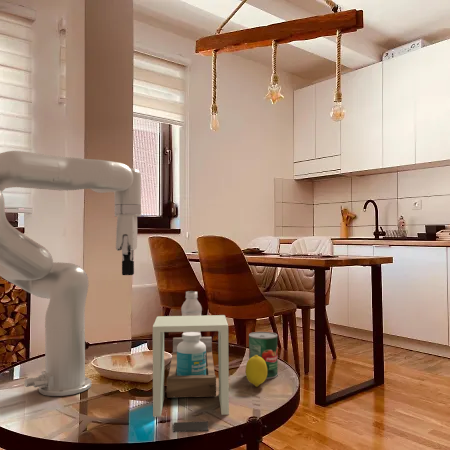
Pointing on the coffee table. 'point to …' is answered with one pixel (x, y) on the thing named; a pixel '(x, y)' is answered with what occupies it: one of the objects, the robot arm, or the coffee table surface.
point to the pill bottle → (191, 355)
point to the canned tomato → (265, 350)
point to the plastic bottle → (191, 306)
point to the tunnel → (188, 325)
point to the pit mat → (190, 426)
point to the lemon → (256, 370)
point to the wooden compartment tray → (193, 383)
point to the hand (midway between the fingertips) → (128, 274)
